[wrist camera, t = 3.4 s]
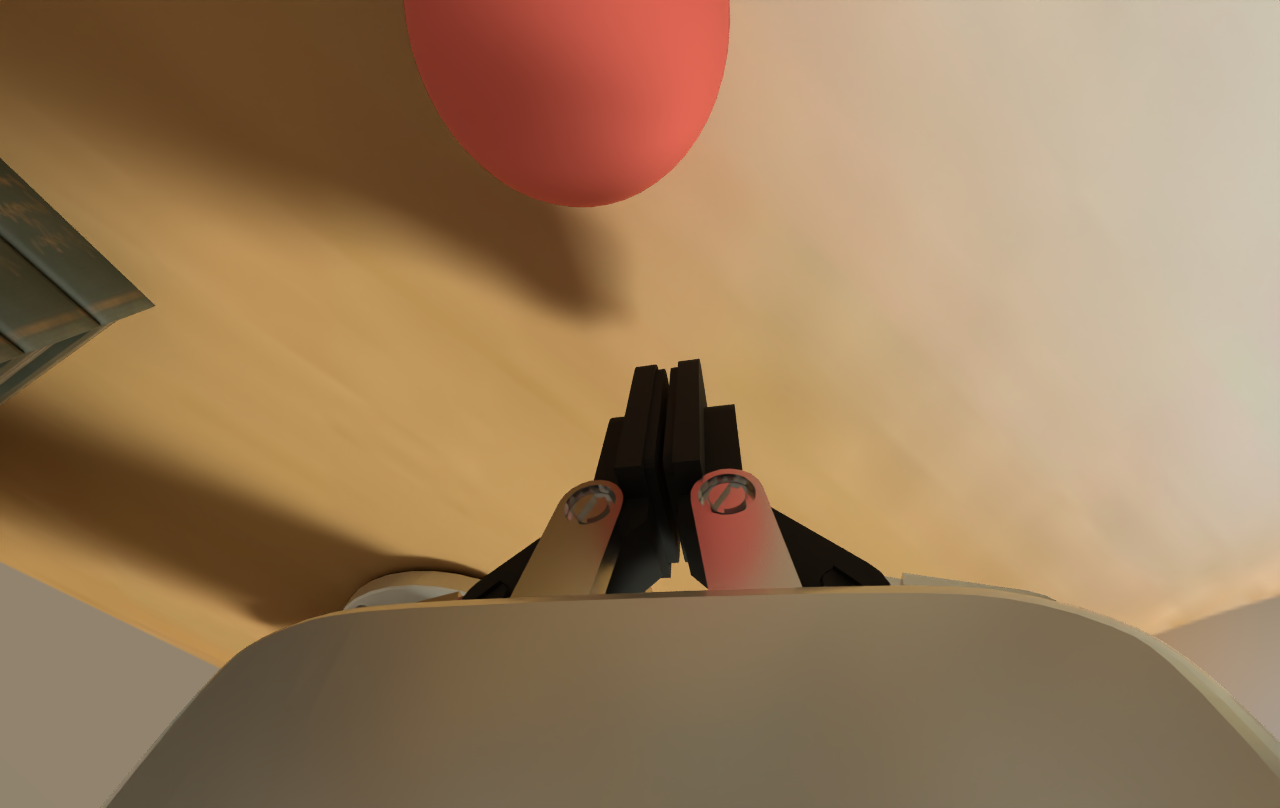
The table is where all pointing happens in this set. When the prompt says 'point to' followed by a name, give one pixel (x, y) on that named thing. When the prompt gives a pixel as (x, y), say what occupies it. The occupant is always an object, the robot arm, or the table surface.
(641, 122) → the ball
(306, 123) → the table surface
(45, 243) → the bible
